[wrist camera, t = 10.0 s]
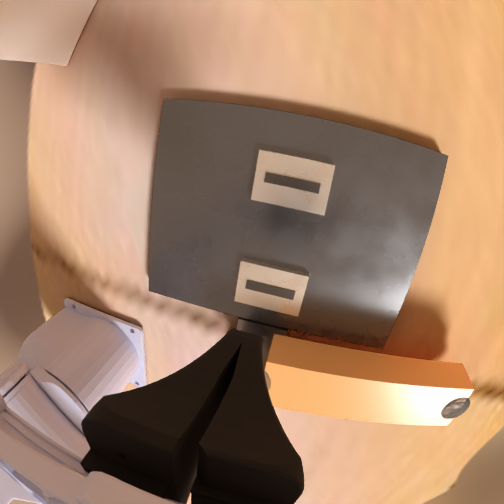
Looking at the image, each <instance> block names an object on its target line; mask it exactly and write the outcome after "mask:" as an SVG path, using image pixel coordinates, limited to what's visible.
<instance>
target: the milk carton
mask: <svg viewBox="0 0 504 504" xmlns="http://www.w3.org/2000/svg"><path fill="white" fill-rule="evenodd" d="M96 2H97V0H0V60H14V61H26V62H36V63H45V64H53V65H61V66H67V65H68V63H69V60H70V58H71V55H72V53H73V51H74V48H75V46H76V44H77V41H78V39H79V37H80V35H81V32H82V30H83V28H84V26H85V24H86V22H87V20H88V18H89V16H90V14H91V12H92V10H93V8H94V6H95V4H96Z"/></svg>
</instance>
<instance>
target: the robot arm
mask: <svg viewBox="0 0 504 504" xmlns="http://www.w3.org/2000/svg"><path fill="white" fill-rule="evenodd" d="M64 306H65V308H63V309H62V310H61V311H59V312H58V313H57V314H55V315H54V316H53V317H52V318H50V319H49V320H48V321H46V322H45V323H44V324H43V325H41V326H40V327H39V328H38V329H36V330H35V331H34V332H33V333H31V334H30V335H29V336H28V337H27V339H26V340H25V341H24V343H23V345H22V347H21V349H20V353H19V358H18V362H15V363H14V364H13V365H11V366H10V367H9V368H8V369H6V370H5V371H4V372H3V373H2V374H1V375H0V504H9V503H10V502H11V501H12V500H13V499H17V500H23V501H27V502H32V503H39V504H186V503H187V500H188V497H189V495H190V492H191V504H294V503H295V502H296V500H297V499H298V498H299V497H300V496H301V494H302V492H303V490H304V473H303V466H302V461H301V458H300V456H299V455H298V453H297V452H296V450H295V449H294V447H293V446H292V444H291V443H290V441H289V439H288V437H287V436H286V434H285V432H284V430H283V428H282V426H281V424H280V422H279V419H278V417H277V415H276V413H275V410H274V407H273V405H272V402H271V399H270V395H269V392H268V388H267V384H266V379H265V374H264V367H263V356H262V346H263V340H264V338H263V337H262V336H260V335H256V334H252V333H248V332H244V331H240V330H236V329H231V330H230V331H229V332H228V333H227V334H226V335H225V336H224V337H223V338H222V339H221V340H220V341H218V342H217V343H216V344H215V345H214V346H213V347H212V348H210V349H209V350H208V351H207V352H205V353H204V354H203V355H202V356H200V357H199V358H197V359H196V360H194V361H193V362H192V363H190V364H189V365H187V366H185V367H184V368H182V369H180V370H179V371H177V372H175V373H173V374H171V375H169V376H167V377H165V378H163V379H161V380H159V381H156V382H154V383H151V384H148V385H147V379H146V366H145V351H144V332H143V329H142V328H141V327H139V326H137V325H134V324H131V323H129V322H126V321H123V320H121V319H118V318H115V317H113V316H110V315H108V314H105V313H103V312H100V311H98V310H95V309H93V308H90V307H88V306H86V305H83V304H81V303H79V302H76V301H74V300H72V299H69V298H66V299H65V300H64ZM128 383H131V384H133V385H136V386H138V387H139V388H136V389H133V390H130V391H126V392H122V391H123V390H124V389H125V387H126V386H127V385H128Z"/></svg>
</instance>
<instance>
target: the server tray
mask: <svg viewBox="0 0 504 504" xmlns="http://www.w3.org/2000/svg"><path fill="white" fill-rule="evenodd" d="M447 159H448V156H447V155H445V154H442V153H439V152H436V151H434V150H431V149H428V148H425V147H422V146H419V145H416V144H413V143H410V142H407V141H404V140H401V139H397V138H394V137H391V136H387V135H384V134H381V133H377V132H373V131H370V130H366V129H362V128H358V127H355V126H351V125H347V124H342V123H338V122H334V121H329V120H325V119H320V118H316V117H311V116H306V115H301V114H295V113H290V112H284V111H278V110H272V109H266V108H259V107H252V106H245V105H237V104H228V103H219V102H208V101H196V100H182V99H164V100H163V107H162V114H161V121H160V128H159V136H158V144H157V153H156V163H155V173H154V184H153V196H152V210H151V228H150V251H149V291H151V292H154V293H158V294H161V295H164V296H167V297H171V298H174V299H177V300H181V301H184V302H188V303H191V304H195V305H198V306H202V307H205V308H209V309H212V310H216V311H220V312H223V313H227V314H231V315H234V316H238V317H239V319H238V324H237V329H236V330H240V331H244V332H248V333H252V334H256V335H260V336H263V337H265V338H267V339H269V340H270V341H271V342H272V340H273V336H274V334H278V335H282V336H286V334H287V331H288V329H290V330H295V331H299V332H303V333H308V334H312V335H317V336H321V337H326V338H331V339H336V340H340V341H345V342H350V343H355V344H360V345H365V346H371V347H376V348H381V349H383V347H384V345H385V342H386V340H387V338H388V336H389V334H390V332H391V329H392V327H393V325H394V323H395V320H396V318H397V316H398V313H399V311H400V309H401V306H402V304H403V301H404V299H405V296H406V294H407V291H408V289H409V286H410V284H411V281H412V278H413V276H414V273H415V270H416V268H417V265H418V262H419V259H420V256H421V253H422V250H423V247H424V244H425V241H426V238H427V235H428V232H429V229H430V225H431V222H432V219H433V215H434V212H435V208H436V204H437V201H438V197H439V193H440V189H441V185H442V181H443V177H444V173H445V168H446V164H447Z"/></svg>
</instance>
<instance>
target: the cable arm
mask: <svg viewBox="0 0 504 504" xmlns="http://www.w3.org/2000/svg"><path fill="white" fill-rule="evenodd" d="M262 337H263V336H262ZM263 338H264V340H263V346H262V356H263V367H264V374H265V379H266V384H267V388H268V392H269V395H270V399H271V402H272V405H273V407H277V408H282V409H287V410H292V411H298V412H303V413H309V414H315V415H321V416H328V417H335V418H342V419H350V420H358V421H367V422H378V423H390V424H406V425H435V426H448V424H449V423H450V422H451V421H452V419H453V418H455V417H458V416H459V415H461V414H462V413H464V412H465V411H466V410H467V408H468V407H469V405H470V400H469V396H470V395H471V393H472V392H473V390H474V388H473V386H472V383H471V381H470V379H469V377H468V374H467V372H466V370H465V368H464V366H463V364H461V363H451V362H442V361H433V360H424V359H416V358H409V357H401V356H394V355H387V354H380V353H374V352H368V351H361V350H355V349H350V348H344V347H338V346H333V345H327V344H322V343H317V342H311V341H306V340H301V339H296V338H292V337H287V336H282V335H278V334H274V336H273V340H272V342H271V341H270V340H269V339H267V338H265V337H263Z"/></svg>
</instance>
